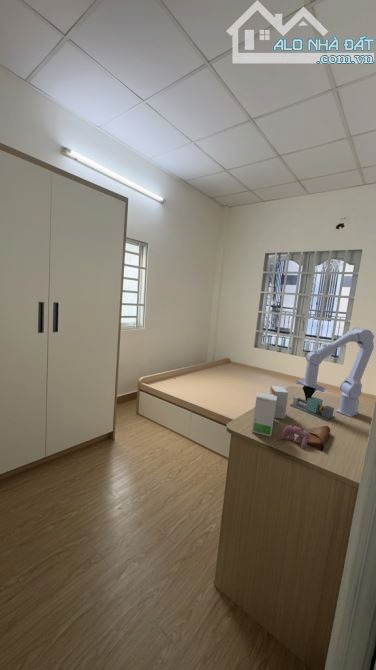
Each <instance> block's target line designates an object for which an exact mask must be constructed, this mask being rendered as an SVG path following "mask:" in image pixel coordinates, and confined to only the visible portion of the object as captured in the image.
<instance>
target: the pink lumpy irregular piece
mask: <svg viewBox="0 0 376 670" xmlns="http://www.w3.org/2000/svg"><path fill="white" fill-rule="evenodd" d="M295 435H297V437H295ZM286 437H288V439H289V440H291V441H293V440H295V441H296V443H297V444H300V445H301V449H305V448H306V447H307V445H306V444H307V442H308V439H309V434H308V431H306V430H305V429H303V428H301V427H299V426H296V425H291V424H289V425H287V426H286V427H285V428H284V429H283V431H282V432H281V435H280V439H281V440H284V439H286Z"/></svg>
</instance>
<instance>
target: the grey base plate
mask: <svg viewBox="0 0 376 670" xmlns="http://www.w3.org/2000/svg"><path fill="white" fill-rule="evenodd" d="M289 406H290V407H293V408H296V409H298V410H300V411H302V412H305V413H307V414H310V415H312V416H314V417H317V418H319V419H322V420H324V421H329V420H332V419H335V417H336V416H334V415H333V417H332V418H329V419H327V418H325V417H323V416H322V412H321V411H320V412H318V413H313V412H311V411H308V410H306V406H307V404H305V403H302V402H300V401H299V404H298V405H295V404H293V403H290V404H289Z"/></svg>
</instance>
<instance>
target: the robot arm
mask: <svg viewBox="0 0 376 670" xmlns="http://www.w3.org/2000/svg"><path fill="white" fill-rule="evenodd" d="M374 338H375V335H374V333H373V332H372V331H371V330H370V329H363V328H360V327H353V328H352V329H349V330H348V331H347V332H346V333H345V334H343V335H342V336H340V337H339V338H337V339H336V340H334V341H333V342H331V343H323V344H322V346H320V347H318V348H316V349H314V350H313V351H309V352H308V353H307V354H306V356H305V360H306V366H305V367H306V368H305V374H304V380H302V379H296V380H295V383H296V384H297V385H301V386H303V387H302V390H303V393H304V398H305V399H304V400H305V401H307V399H308V398H311V397H313V395H314V394H315V392H316V391H319V392H321V393H323V392H325V389H326V388H325V387H323V386H321V385H319V384H317V381H318V375H319V368H320V364H322V363H323V360H325V359H326V358H328V357H329V356H332V355H333V354H334V353H335V352H336V349H338V348H341V347H343V346H344V345H346V344H348V343H349V342H350V343H356V344H357V345H358V347H359V349H358V352H357V355H356V357H355V359H354V362H353V364H352V367H351V370H350V371H349V372H350V373H349V374H348V376H347V377H345V378H344V379H343V381H342V382H341V383H340V384H339V389H340V391H341V392H340V394H341V395H340V398H339V399H340V400H339V407H338V408H337V409H334V411H335V412H337V413H340V414H343V415H345V416H348V417H349V418H350V417H351V418H353V417H354V416H356V415H359V414H360V412H359V411H358V410H359V405H360V400H359V397H361V395H362V388H363V384H362V381H361V380H362V377H363V375H364V372H365V370H366V368H367V365H368V363H369V360H370V358H371V355H372V354H373V350H374V347H375V346H374Z"/></svg>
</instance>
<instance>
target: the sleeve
mask: <svg viewBox="0 0 376 670" xmlns="http://www.w3.org/2000/svg"><path fill="white" fill-rule="evenodd" d="M323 401H324V400H323V399H322V398H318V397H315V396H312V397H311V398H308V399H307V404H306V405H307V406H306V410H308V411H311V412H313V413H318V412H320V411H319V409H318V405H319V406H321V405H322V406H323Z"/></svg>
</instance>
